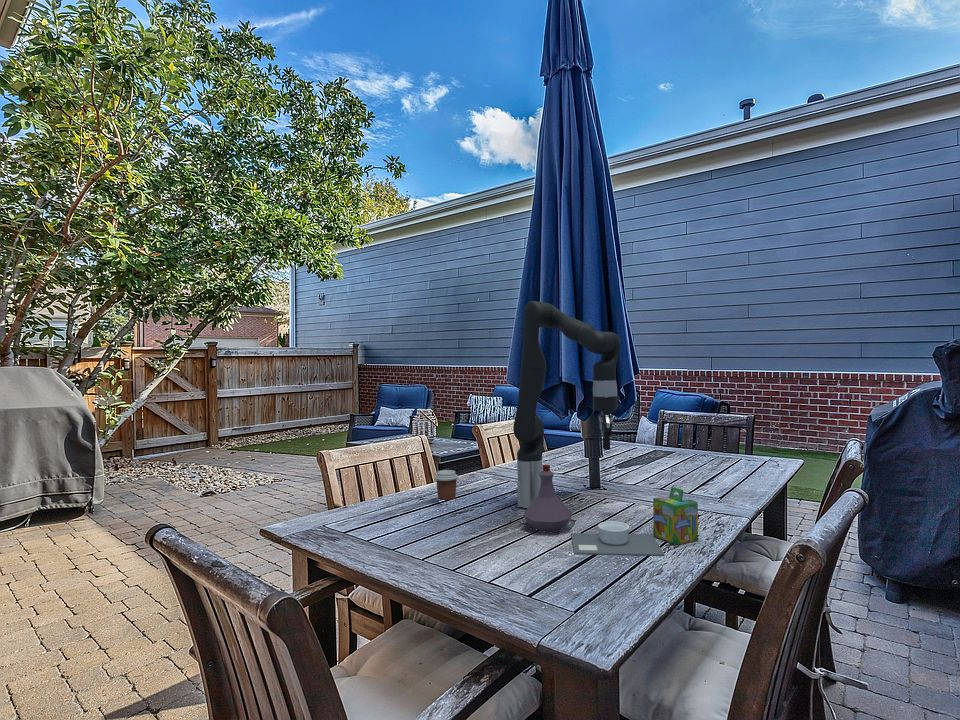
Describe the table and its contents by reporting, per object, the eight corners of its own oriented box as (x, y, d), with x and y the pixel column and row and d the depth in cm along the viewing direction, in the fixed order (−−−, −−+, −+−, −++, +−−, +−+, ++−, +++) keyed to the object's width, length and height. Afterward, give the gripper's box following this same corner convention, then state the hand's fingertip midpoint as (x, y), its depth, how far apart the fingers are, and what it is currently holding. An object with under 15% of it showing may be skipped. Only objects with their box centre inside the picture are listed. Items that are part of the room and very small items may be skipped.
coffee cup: (430, 503, 194) (429, 472, 194) (448, 498, 200) (448, 468, 200) (444, 508, 187) (444, 475, 187) (463, 503, 193) (462, 471, 193)
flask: (529, 538, 153) (527, 472, 153) (517, 521, 169) (515, 461, 169) (581, 534, 155) (579, 469, 156) (564, 518, 172) (562, 459, 172)
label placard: (574, 554, 140) (574, 552, 140) (571, 534, 155) (571, 533, 155) (664, 555, 137) (664, 554, 137) (651, 535, 153) (651, 534, 153)
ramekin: (621, 548, 142) (620, 532, 142) (592, 541, 148) (592, 526, 148) (634, 539, 148) (634, 524, 148) (607, 533, 154) (606, 519, 154)
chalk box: (652, 536, 152) (651, 487, 152) (676, 531, 156) (674, 483, 156) (675, 546, 144) (674, 494, 144) (699, 541, 147) (698, 490, 147)
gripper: (591, 393, 167) (592, 446, 167) (595, 396, 154) (596, 453, 154) (614, 393, 166) (615, 446, 166) (620, 396, 153) (621, 453, 153)
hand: (606, 449), depth 160 cm, fingers closed
